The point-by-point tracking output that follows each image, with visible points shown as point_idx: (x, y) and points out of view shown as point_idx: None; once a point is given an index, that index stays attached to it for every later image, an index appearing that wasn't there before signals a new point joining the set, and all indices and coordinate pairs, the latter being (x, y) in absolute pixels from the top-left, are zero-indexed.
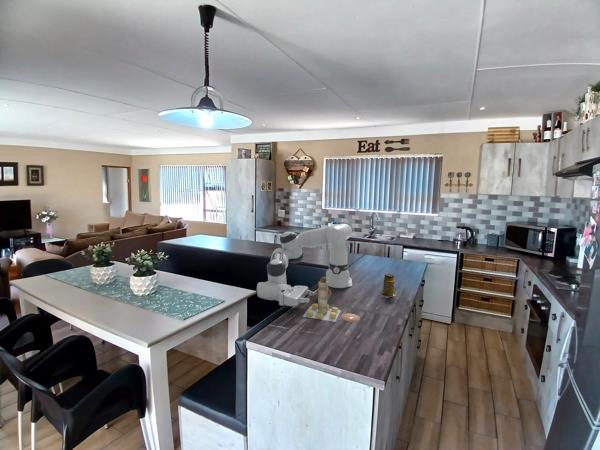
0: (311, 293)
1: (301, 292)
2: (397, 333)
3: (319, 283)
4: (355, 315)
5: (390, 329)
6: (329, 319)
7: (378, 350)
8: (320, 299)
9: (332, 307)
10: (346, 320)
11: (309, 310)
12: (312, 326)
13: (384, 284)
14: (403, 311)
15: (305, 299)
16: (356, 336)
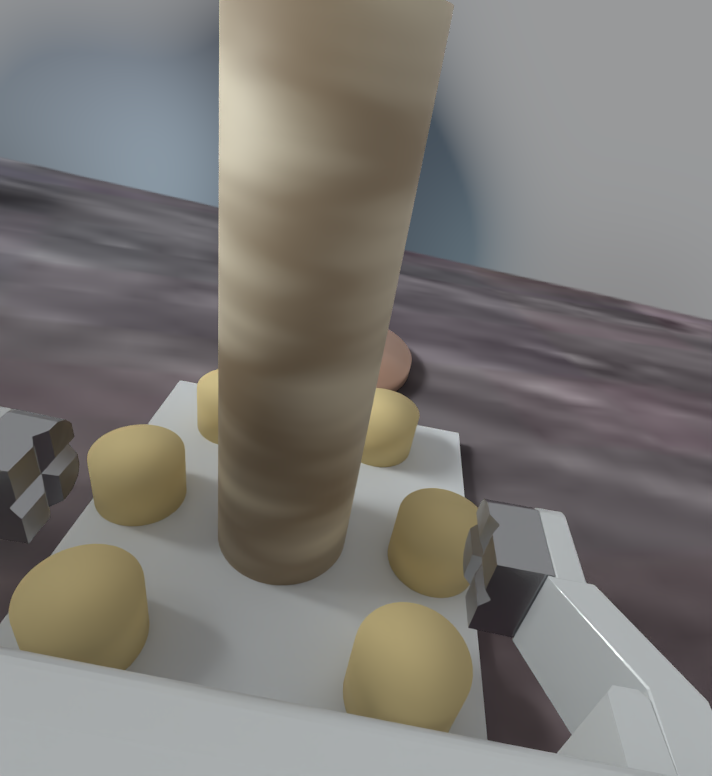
0: (27, 479)
1: (186, 746)
2: (442, 259)
3: (423, 17)
4: None
5: (412, 264)
6: (431, 469)
7: (651, 324)
8: (379, 368)
9: (206, 401)
10: (405, 369)
11: (375, 672)
12: (668, 638)
13: None
14: (181, 201)
15: (573, 590)
16: (583, 365)
